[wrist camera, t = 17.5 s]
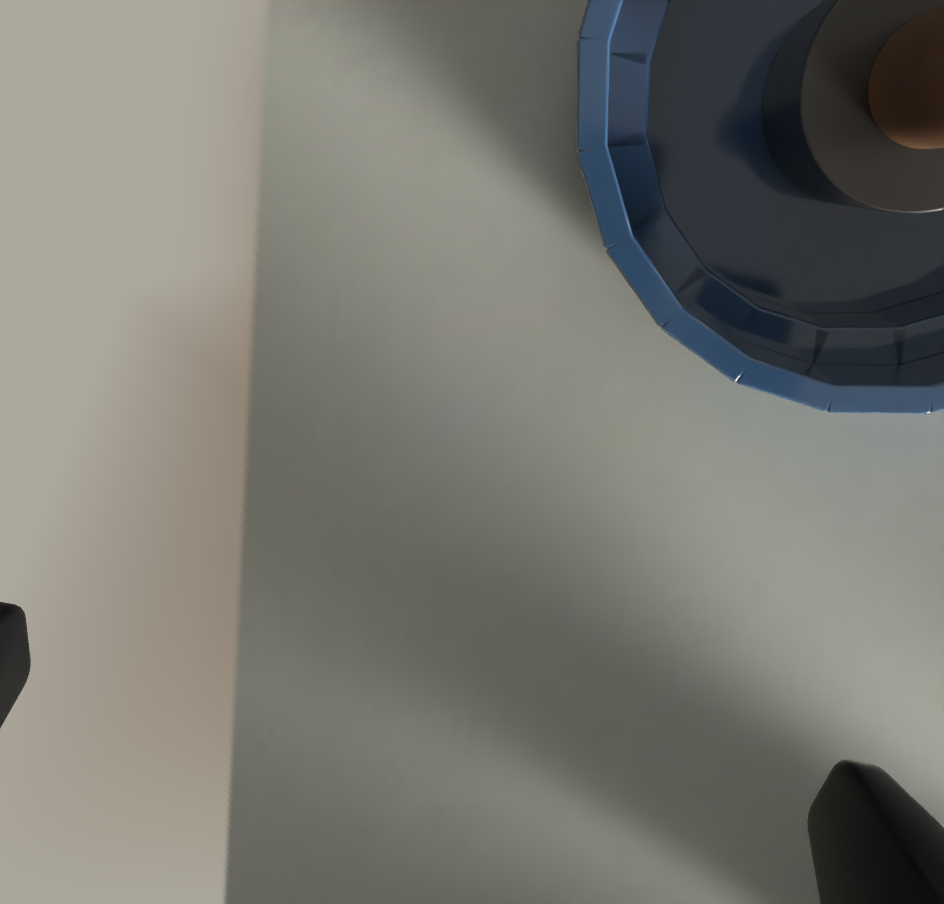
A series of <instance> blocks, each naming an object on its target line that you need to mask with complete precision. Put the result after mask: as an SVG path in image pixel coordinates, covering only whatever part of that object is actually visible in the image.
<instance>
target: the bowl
mask: <svg viewBox="0 0 944 904" xmlns="http://www.w3.org/2000/svg"><path fill="white" fill-rule="evenodd" d="M823 1H824V0H588V2H587V6H586V9H585V12H584V16H583V19H582V22H581V26H580V29H579V32H578V36H579V39H578V41H577V81H576V149H577V151H578V152H577V158H578V161H579V165H580V168H581V171H582V175H583V178H584V181H585V185H586V188H587V192H588V195H589V198H590V202H591V205H592V208H593V212H594V215H595V219H596V222H597V225H598V229H599V232H600V236H601V239H602V242H603V246H604V247H605V248H606V251H607V254H608V255H609V257H610V258H611V260H612V261H613V262H614V264H615V265H616V267H617V268H618V270H619V271H620V272H621V274H622V275H623V277H624V278H625V280H626V281H627V282H628V284H629V285H630V287H631V288H632V290H633V291H634V292H635V294H636V295H637V297H638V298H639V300H640V301H641V302H642V304H643V305H644V307H645V308H646V310H647V311H648V312H649V314H650V315H651V317H652V318H653V320H654V321H655V322H656V324H657V325H658V326H661V329H662V330H663V331H664V332H665V333H667V334H668V335H670V336H671V337H672V338H674V339H675V340H676V341H678V342H679V343H681V344H682V345H683V346H685V347H686V348H687V349H689V350H690V351H692V352H693V353H694V354H696V355H697V356H698V357H700V358H701V359H703V360H704V361H705V362H707V363H708V364H709V365H711V366H712V367H714V368H715V369H716V370H718V371H719V372H720V373H722V374H723V375H725V376H726V377H727V378H729V379H730V380H732V381H736V382H737V383H738V384H740V385H743V386H746V387H749V388H752V389H755V390H759V391H762V392H765V393H768V394H771V395H774V396H777V397H781V398H784V399H787V400H790V401H793V402H796V403H799V404H803V405H806V406H809V407H812V408H815V409H818V410H821V411H826V410H827V412H841V413H913V414H927V413H929V412H937V411H941V410H944V210H940V211H935V212H928V213H921V214H900V213H891V212H884V211H877V210H871V209H865V208H858V207H852V206H845V205H839V204H834V203H830V202H826V201H822V200H819V199H817V198H814V197H812V196H810V195H808V194H806V193H805V192H803V191H801V190H800V189H798V188H797V187H796V186H795V185H793V184H792V183H791V182H790V181H789V180H788V179H787V178H786V177H785V176H784V175H783V174H782V172H781V171H780V170H779V168H778V167H777V165H776V164H775V162H774V160H773V158H772V156H771V154H770V152H769V150H768V146H767V143H766V140H765V137H764V130H763V124H762V103H763V94H764V89H765V85H766V80H767V77H768V74H769V71H770V69H771V66H772V63H773V61H774V59H775V57H776V55H777V53H778V51H779V49H780V48H781V46H782V45H783V43H784V41H785V40H786V38H787V37H788V36H789V34H790V33H791V32H792V30H793V29H794V28H795V27H796V25H797V24H798V23H799V22H800V21H801V20H802V19H803V18H804V17H805V16H806V15H807V14H808V13H809V12H811V11H812V10H813V9H814V8H816V7H817V6H818V5H819V4H820V3H822V2H823Z"/></svg>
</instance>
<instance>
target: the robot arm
mask: <svg viewBox="0 0 944 904" xmlns="http://www.w3.org/2000/svg"><path fill="white" fill-rule="evenodd" d="M29 671H30V652H29V643H28V634H27V626H26V618H25V613H24V611H23V610H22V609H21V607H19V606H17V605H14V604H9V603H3V602H0V727H1V726H2V724H3V722H4V721H5V719H6V717H7V715H8V714H9V712H10V710H11V708H12V706H13V705H14V703H15V701H16V699H17V698H18V696H19V694H20V692H21V691H22V689H23V687H24V685H25V683H26V681H27V678H28V675H29ZM807 823H808V834H809V840H810V846H811V852H812V858H813V864H814V870H815V876H816V882H817V887H818V893H819V899H820V904H944V827H943V826H942V825H941V824H940V823H939V822H938V821H937V820H935V819H934V818H933V817H932V816H931V815H930V814H929V813H928V812H927V811H926V810H925V809H924V808H923V807H922V806H921V805H920V804H919V803H918V802H917V801H916V800H915V799H914V798H913V797H911V796H910V795H909V794H908V793H907V792H906V791H905V790H904V789H903V788H902V787H901V786H900V785H899V784H898V783H897V782H896V781H895V780H894V779H893V778H892V777H891V776H890V775H889V774H887V773H886V772H885V771H884V770H883V769H881V768H880V767H877V766H875V765H871V764H866V763H860V762H855V761H850V760H842V761H840V762H838V763H837V764H835V766H834V767H833V768H832V770H831V772H830V773H829V775H828V777H827V779H826V780H825V782H824V784H823V785H822V787H821V789H820V791H819V792H818V794H817V796H816V797H815V799H814V801H813V802H812V804H811V806H810V809H809V813H808V820H807Z"/></svg>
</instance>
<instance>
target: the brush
mask: <svg viewBox="0 0 944 904" xmlns="http://www.w3.org/2000/svg"><path fill="white" fill-rule="evenodd" d="M762 124H763V130H764V137H765V140H766V143H767V146H768V150H769V152H770V154H771V156H772V158H773V160H774V162H775V164H776V165H777V167H778V168H779V170H780V171H781V172H782V174H783V175H784V176H785V177H786V178H787V179H788V180H789V181H790V182H791V183H792V184H793V185H795V186H796V187H797V188H798V189H800V190H801V191H803V192H805V193H806V194H808V195H810V196H812V197H814V198H817V199H819V200H822V201H826V202H830V203H834V204H839V205H845V206H852V207H858V208H865V209H871V210H877V211H884V212H891V213H900V214H921V213H928V212H935V211H940V210H944V0H824V1H823V2H822V3H820V4H819V5H818V6H817V7H816V8H814V9H813V10H812V11H811V12H809V13H808V14H807V15H806V16H805V17H804V18H803V19H802V20H801V21H800V22H799V23H798V24H797V25H796V27H795V28H794V29H793V30H792V32H791V33H790V34H789V36H788V37H787V38H786V40H785V41H784V43H783V45H782V46H781V48H780V49H779V51H778V53H777V55H776V57H775V59H774V61H773V63H772V66H771V69H770V71H769V74H768V77H767V80H766V85H765V89H764V94H763V103H762Z"/></svg>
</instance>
